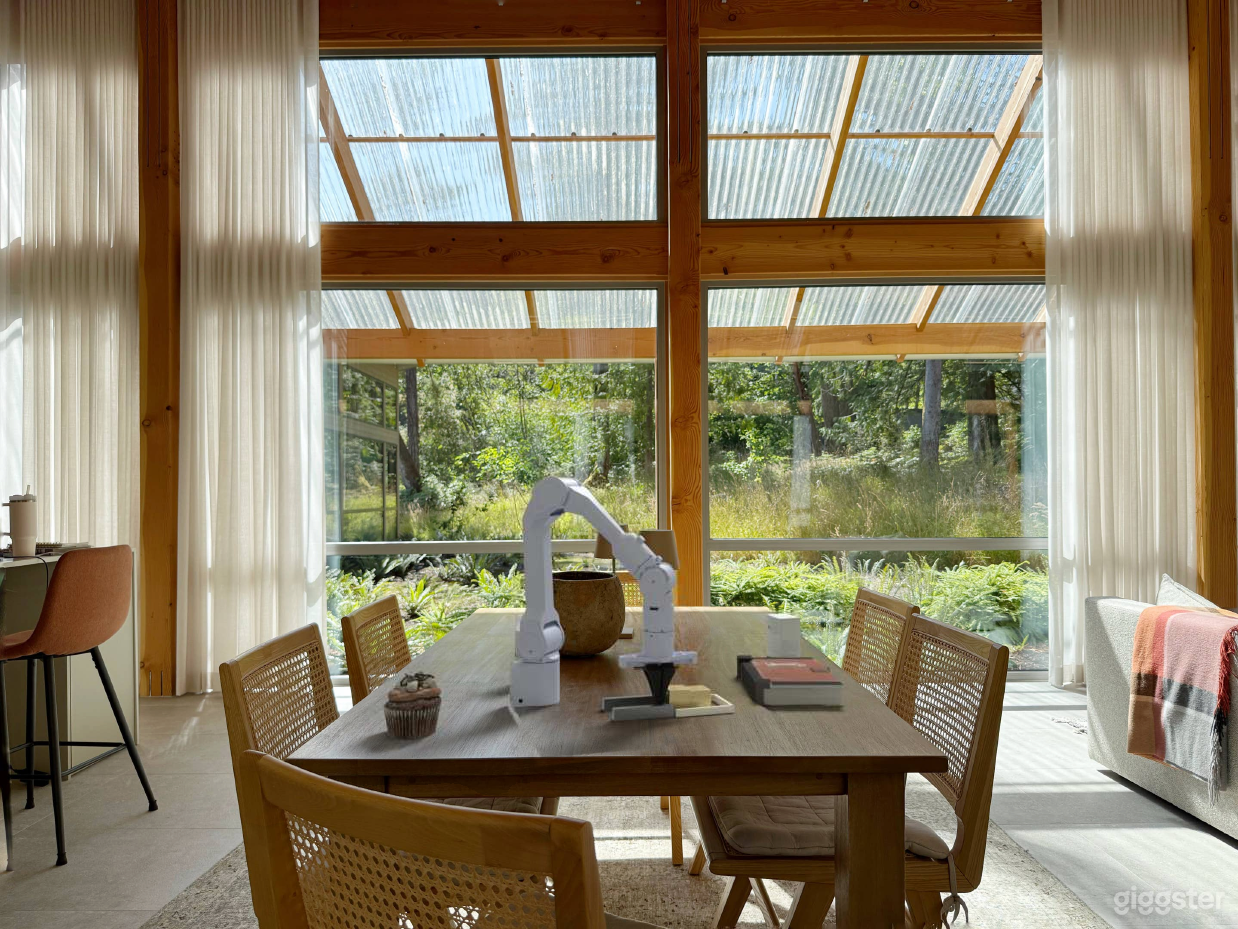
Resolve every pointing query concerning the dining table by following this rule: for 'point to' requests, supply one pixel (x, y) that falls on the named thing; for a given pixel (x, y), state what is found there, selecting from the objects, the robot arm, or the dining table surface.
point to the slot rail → (635, 708)
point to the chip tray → (707, 708)
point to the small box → (783, 635)
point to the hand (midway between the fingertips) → (658, 705)
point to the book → (789, 681)
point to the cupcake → (413, 707)
